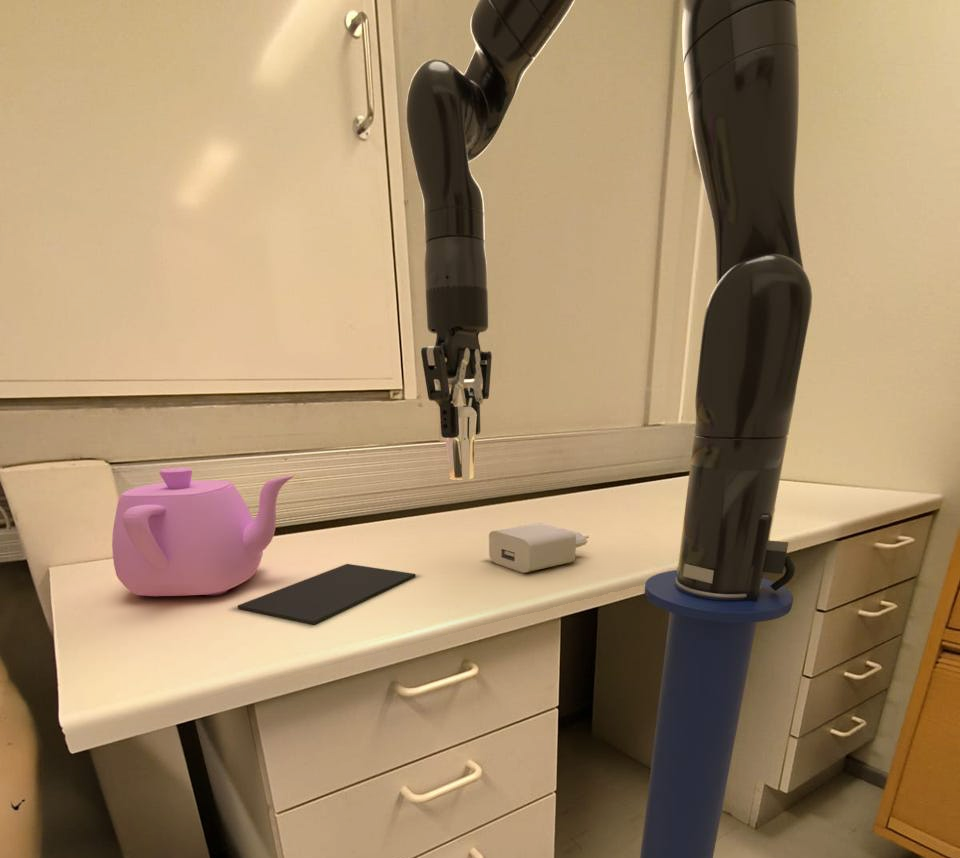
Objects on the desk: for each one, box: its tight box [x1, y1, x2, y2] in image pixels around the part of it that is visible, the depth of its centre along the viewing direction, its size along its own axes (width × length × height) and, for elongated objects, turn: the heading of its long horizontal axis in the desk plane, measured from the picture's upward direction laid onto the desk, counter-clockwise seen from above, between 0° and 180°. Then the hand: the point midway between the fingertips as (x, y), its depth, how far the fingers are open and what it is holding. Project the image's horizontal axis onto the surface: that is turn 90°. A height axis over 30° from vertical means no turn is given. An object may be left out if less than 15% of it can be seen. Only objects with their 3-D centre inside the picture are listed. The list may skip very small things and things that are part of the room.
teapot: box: [111, 467, 295, 597], centre depth 74 cm, size 23×21×15 cm
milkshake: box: [444, 398, 477, 481], centre depth 77 cm, size 4×5×10 cm
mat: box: [237, 563, 416, 626], centre depth 75 cm, size 12×20×1 cm, turn 152°
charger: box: [488, 522, 590, 574], centre depth 87 cm, size 5×9×15 cm
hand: (461, 435), depth 77 cm, fingers closed on milkshake, 5 cm apart
